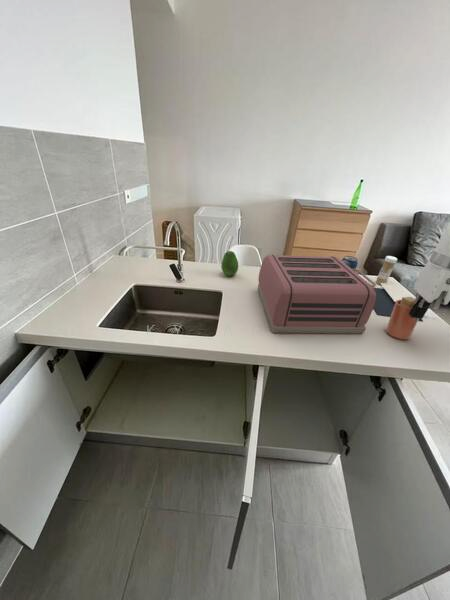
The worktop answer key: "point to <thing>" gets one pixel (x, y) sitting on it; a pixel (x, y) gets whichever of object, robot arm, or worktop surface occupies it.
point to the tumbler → (401, 322)
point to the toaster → (314, 295)
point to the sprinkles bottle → (386, 269)
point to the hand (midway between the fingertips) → (415, 316)
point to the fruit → (229, 263)
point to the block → (407, 302)
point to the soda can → (350, 261)
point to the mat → (384, 303)
